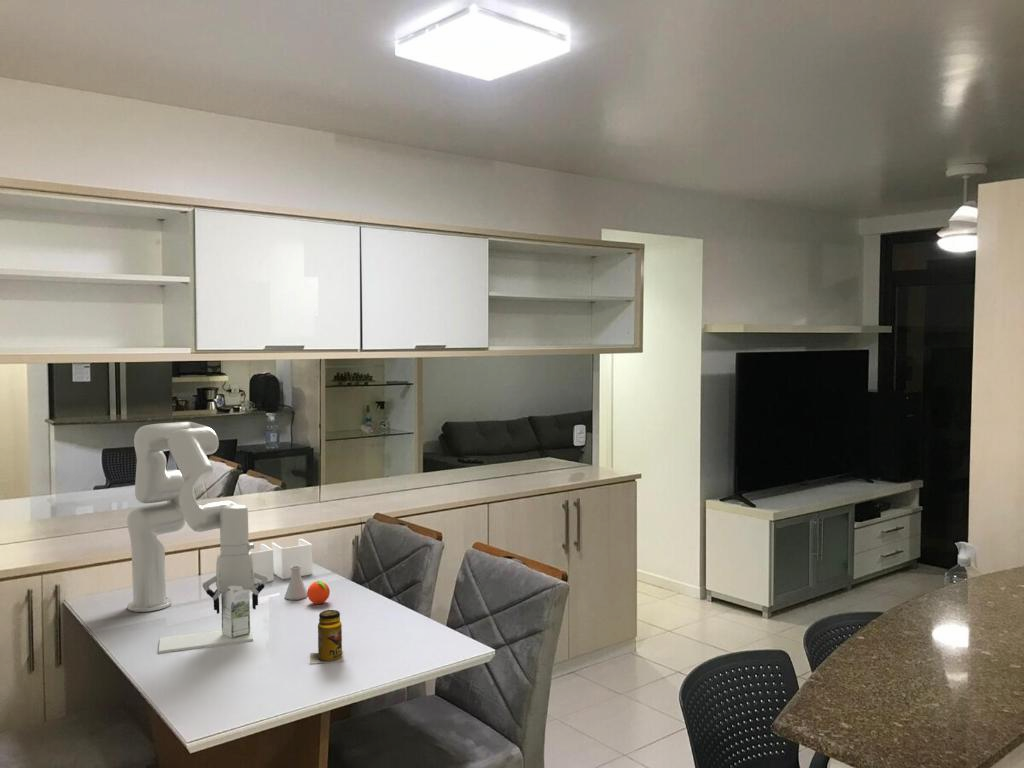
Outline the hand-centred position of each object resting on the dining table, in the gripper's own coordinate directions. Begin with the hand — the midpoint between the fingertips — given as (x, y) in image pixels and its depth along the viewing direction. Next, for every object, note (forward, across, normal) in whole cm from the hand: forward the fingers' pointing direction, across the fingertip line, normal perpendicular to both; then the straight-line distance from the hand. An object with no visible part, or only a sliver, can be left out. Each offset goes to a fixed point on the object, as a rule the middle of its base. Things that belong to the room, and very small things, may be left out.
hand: (236, 610), depth 235 cm
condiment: (+8, -21, +26) cm, 34 cm away
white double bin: (+8, -15, -61) cm, 63 cm away
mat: (+7, +8, 0) cm, 11 cm away
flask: (+8, -20, -32) cm, 39 cm away
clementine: (+8, -26, -22) cm, 35 cm away
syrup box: (+7, 0, 0) cm, 7 cm away
